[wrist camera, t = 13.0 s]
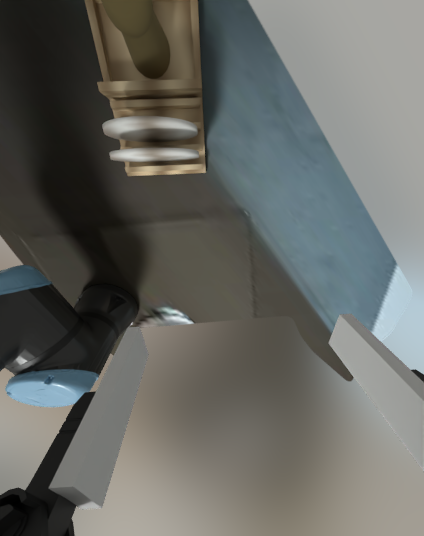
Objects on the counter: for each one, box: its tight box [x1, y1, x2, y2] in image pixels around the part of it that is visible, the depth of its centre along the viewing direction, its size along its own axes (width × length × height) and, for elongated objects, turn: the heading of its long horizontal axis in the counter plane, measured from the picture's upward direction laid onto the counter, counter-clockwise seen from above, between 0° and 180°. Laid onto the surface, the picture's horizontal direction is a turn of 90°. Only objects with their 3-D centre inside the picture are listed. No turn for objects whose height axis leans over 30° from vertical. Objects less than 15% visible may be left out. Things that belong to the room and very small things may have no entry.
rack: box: [85, 0, 206, 176], centre depth 24 cm, size 15×22×14 cm
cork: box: [101, 0, 170, 79], centre depth 22 cm, size 6×6×11 cm
